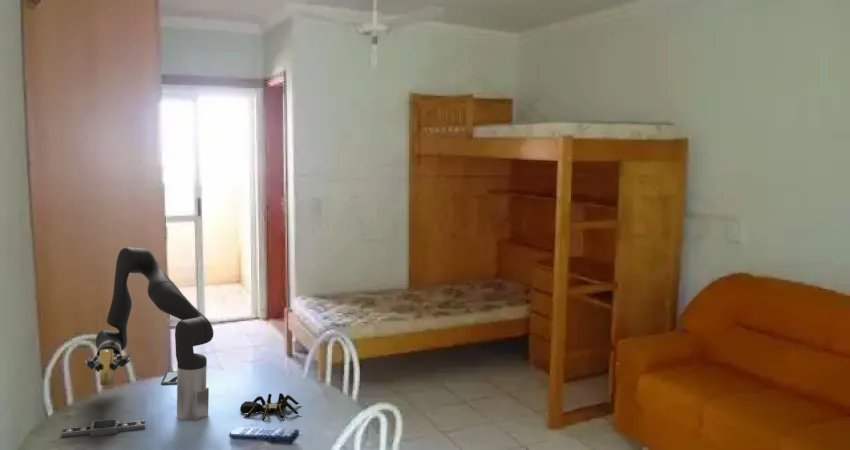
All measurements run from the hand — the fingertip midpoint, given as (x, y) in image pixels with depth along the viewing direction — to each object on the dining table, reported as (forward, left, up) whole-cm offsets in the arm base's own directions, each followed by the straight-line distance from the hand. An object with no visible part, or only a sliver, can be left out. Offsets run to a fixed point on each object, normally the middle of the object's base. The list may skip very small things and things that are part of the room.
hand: (106, 368), depth 215 cm
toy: (-41, -33, -19) cm, 56 cm away
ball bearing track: (-5, +5, -18) cm, 19 cm away
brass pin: (+2, -2, -6) cm, 7 cm away
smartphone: (+12, -43, -18) cm, 48 cm away
